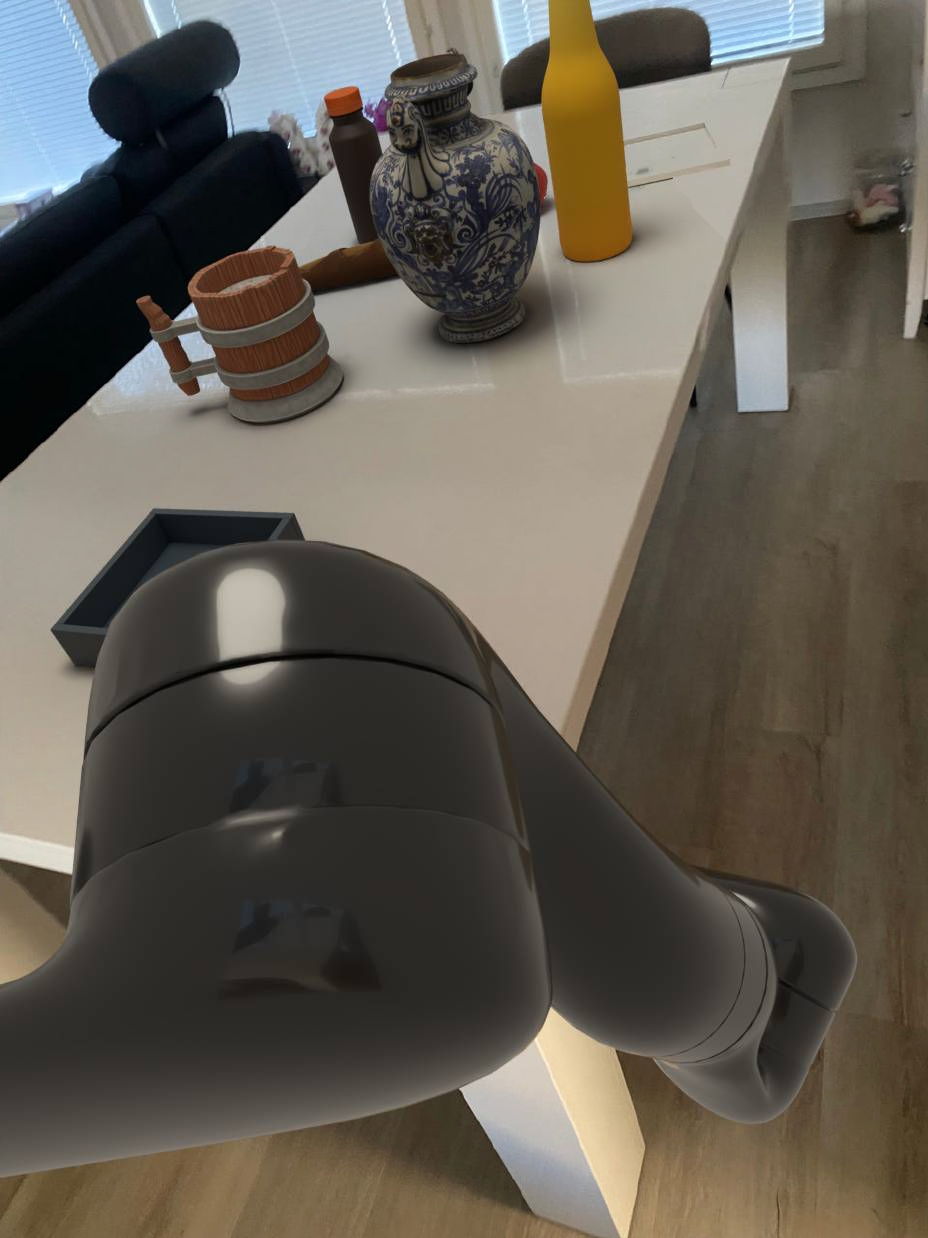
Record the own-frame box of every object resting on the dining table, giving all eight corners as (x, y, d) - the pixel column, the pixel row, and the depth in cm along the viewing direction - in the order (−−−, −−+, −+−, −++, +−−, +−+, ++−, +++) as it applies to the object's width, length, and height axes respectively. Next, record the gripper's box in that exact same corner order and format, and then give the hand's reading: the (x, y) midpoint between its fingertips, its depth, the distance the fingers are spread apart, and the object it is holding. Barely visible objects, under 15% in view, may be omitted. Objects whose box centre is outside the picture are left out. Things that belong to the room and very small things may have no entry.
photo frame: (624, 179, 135) (611, 139, 148) (625, 187, 136) (612, 147, 149) (730, 156, 133) (707, 118, 146) (730, 165, 134) (707, 126, 147)
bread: (519, 238, 131) (513, 201, 128) (522, 252, 127) (515, 215, 124) (256, 295, 136) (243, 261, 132) (251, 311, 132) (237, 276, 129)
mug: (340, 410, 106) (296, 281, 96) (177, 444, 108) (117, 322, 98) (347, 351, 116) (308, 230, 106) (198, 384, 119) (147, 268, 109)
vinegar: (365, 231, 145) (325, 88, 132) (407, 225, 144) (371, 80, 130) (353, 250, 141) (310, 104, 128) (396, 244, 139) (357, 95, 126)
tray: (223, 681, 77) (203, 644, 74) (74, 664, 83) (49, 629, 80) (309, 549, 88) (294, 512, 85) (171, 542, 94) (153, 507, 91)
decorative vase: (434, 287, 125) (376, 48, 106) (573, 275, 119) (537, 19, 100) (381, 372, 111) (304, 113, 92) (536, 363, 104) (486, 84, 86)
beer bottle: (587, 269, 119) (554, 2, 100) (548, 251, 126) (509, -3, 106) (648, 242, 121) (626, -25, 102) (606, 225, 128) (578, -28, 109)
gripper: (546, 704, 54) (354, 612, 64) (376, 890, 48) (190, 757, 57) (564, 784, 59) (384, 687, 69) (413, 962, 53) (236, 829, 62)
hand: (296, 719), depth 63 cm, fingers open, 8 cm apart
